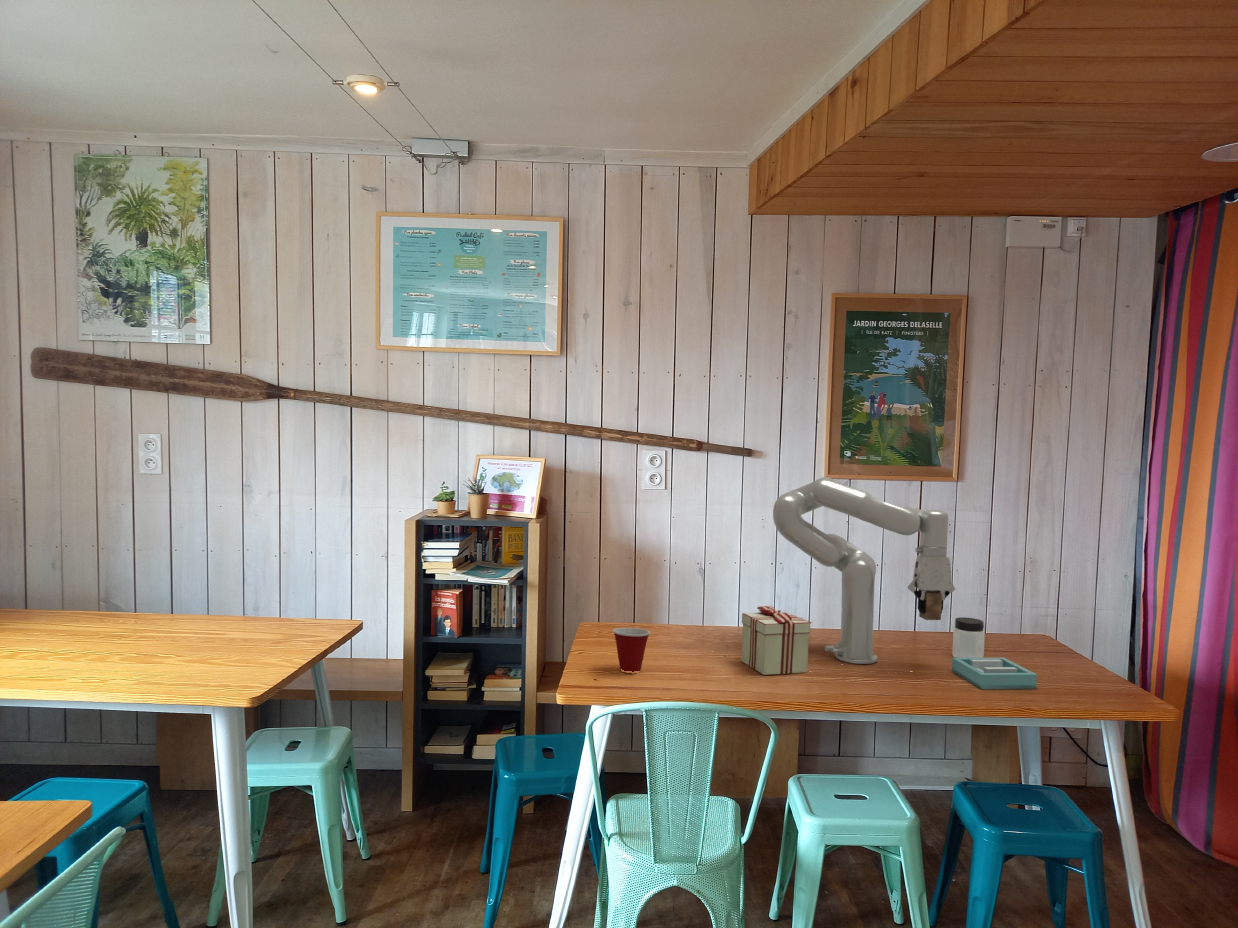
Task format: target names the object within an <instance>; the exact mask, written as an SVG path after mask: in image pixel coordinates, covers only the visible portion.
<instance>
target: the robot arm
mask: <svg viewBox="0 0 1238 928" xmlns="http://www.w3.org/2000/svg"><path fill="white" fill-rule="evenodd" d="M773 505H774V506H773V510H772V517H773V518H772V520H773V523H774V525H775V528H776V529H777V531H778V533H779V534H780V535H781V536H782V537H783V538H784V539H786V541H788V542H789V543H791V544H792V545H793V546H795V547H797V548H798V549H800V551H802V552H803V553H805V554H806V555H807V556H809V557H811V558H812V559H814V560H815V561H816V562H817V563H819V564H820V565H822V566H823V567H828V568H832V567H833V568H835V569H837V570H838V571H839V572H841V613H840V614H841V616H840V617H841V619H840V620H841V621H840V622H841V624H840V641H837V643H836V644H834V645H832V644H831V645H830V644H825V645H824V651H825V652H831V654H834V657H835V658H836V659H837V660H839V661H841V662H845V663H848V664H849V663H850V664H856V665H857V664H858V665H869V664H871V665H872V664H874V663H876V662H877V661H878V655H876V654H875V653H874V652H873V646H874V645H873V642H874V639H873V638H874V614H875V613H874V612H875V610H874V609H875V608H874V607H875V605H874V604H875V581H876V580H875V579H876V574H877V573H876V572H877V565H876V562H875V561H874V559H873V557H872V556H871V555H869V554H868V553H867V552H865V551H863V550H862V549H860V548H859V547H857V545H854V544H853V543H851V542H850V541H848V540H847V539H846V538H844V537H841V536H840V535H839V534H836V533H825V532H824V531H822V530H820V529H819V528H818V527H816V525H814V524H812V523H810V522H808V521H806V520H805V519H804V518H803V517H802V515H804V514H807V513H809V512H812V511H814V510H816V509H819V508H821V507H824V508H827V509H830V510H834V511H836V512H839V513H842V514H845V515H847V516H850V517H853V518H856V519H859V520H861V521H863V522H866V523H869V524H871V525H873V526H876V527H879V528H881V529H883V530H884V529H885V530H887V531H890V532H893V533H896V534H898V535H901V536H912V535H915V534H916V533H917V532H919V535H920V536H919V545H918V547H915V548H914V549H915V553H918V555H917V556H916V559H915V563H914V568H913V577H912V580H911V582H910V583H909V585H908V586H907V590H908V591H910V592H911V593H913V595H914V596H915V597H916V598H917V610H918V613H919V612H921V613H924V614H925V607H926V600H925V595H926V591H938V592H940V593H942V605H941V615H942V613H943V610H944V601H945V600H946V598H947V597H948V596H949V595H950V594H951V593H953V592H955V590H956V588H955V586H954V584H953V583H952V581H953V580H952V567H951V560H950V557H949V556H947V551H948V531H949V515H948V513H947V512H946V511H945V510H939V509H938V510H937V509H926V510H924V509H919V508H918V509H917V508H912V507H899V506H896V505H893V504H890V503H888V502H885V501H883V500H881V499H879V498H878V497H875V496H873V495H872V494H871V493H869V492H867V491H864V490H861V489H860V488H859V489H858V488H854V487H852V486H849V485H847V484H844V483H840V482H839V481H836V480H834V479H833V478H831V477H827V476H824V477H820V478H817V479H816V480H814V481H811V482H810V483H807V484H805V485H802V486H800V487H798V488H795V489H792V490H789V492H786V493H783V494H781V495H780V496H779V497H777V499H776V500H775V502H774V504H773ZM916 588H917V589H918V590H917V589H916Z"/></svg>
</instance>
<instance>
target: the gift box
mask: <svg viewBox="0 0 1238 928" xmlns="http://www.w3.org/2000/svg"><path fill="white" fill-rule="evenodd" d="M756 609H758V612H742V613H741V614H742V615H741V624H742V639H741V658H740V659H741V662H742V663H743V664H744V665H747V666H748V667H749V668H752V669H753V670H754V671H756V672H759V673H760V674H761V675H763V676H768V675H769V676H770V675H783V674H784V675H786V674H801V673H808V663H809V662H808V661H809V660H808V658H809V640H810V639H809V635H810V633H811V624H812V621H809V620H807V619H804V618H803V617H799V616H796V615H794V614H791V613H789V612H787V611H782V610H776V608H775V607H774V606H772V605H763V606H757V607H756Z"/></svg>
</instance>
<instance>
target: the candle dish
mask: <svg viewBox="0 0 1238 928" xmlns="http://www.w3.org/2000/svg"><path fill="white" fill-rule="evenodd" d="M951 672H952V673H954V674H955V675H957V676H959V677H960V678H962V679H963V680H965V681H967V682H968V683H970V684H972V685H974V686H975V687H977V688H978V689H980V690H1036V689H1037V687H1038V685H1037V684H1038V683H1037V682H1038V681H1037V679H1038V674H1037V673H1036V672H1033V671H1031V670H1029V669H1027V668H1025V667H1023V666H1021V665H1020V664H1017V663H1016V662H1013V661H1012V660H1010V659H1007V658H1006V657H984V658H955V657H951Z"/></svg>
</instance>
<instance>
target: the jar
mask: <svg viewBox="0 0 1238 928" xmlns="http://www.w3.org/2000/svg"><path fill="white" fill-rule="evenodd" d="M954 621H955V622H954V626H953V629H952V630H953V634H952V635H953V636H952V654H951V655H952V656H953V657H952V658H985V657H984V656H985V639H986V637H985V635H986V634H985V633H986V631H985V630H984V627H985V626H984V621H983V620H981V619H980V618H974V617H966V616H965V617H964V616H963V617H962V616H961V617H956V618H955V620H954Z"/></svg>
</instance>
